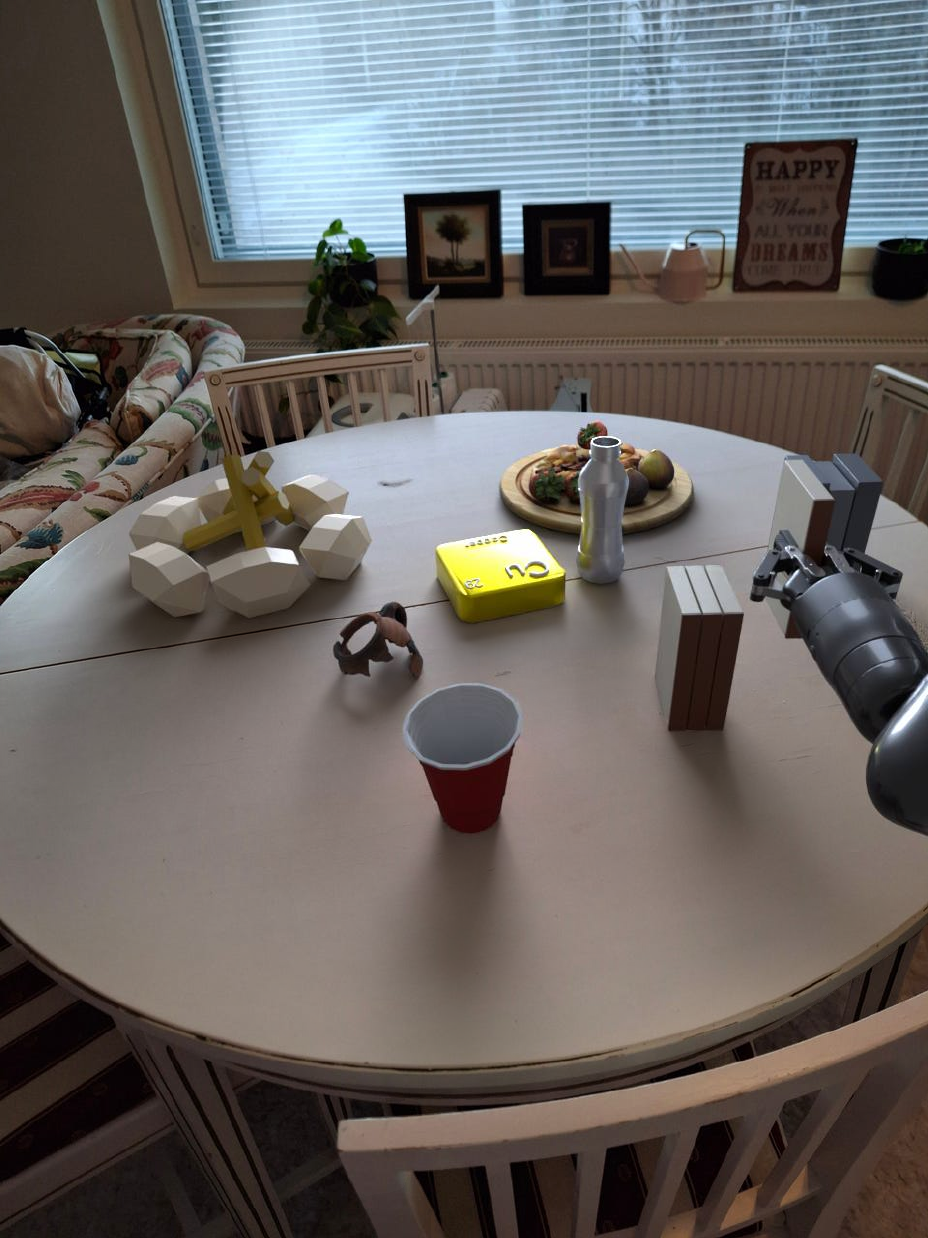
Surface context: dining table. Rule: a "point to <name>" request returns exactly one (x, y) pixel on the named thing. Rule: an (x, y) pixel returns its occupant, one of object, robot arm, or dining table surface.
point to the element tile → (499, 575)
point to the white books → (697, 647)
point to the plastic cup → (465, 750)
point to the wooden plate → (552, 493)
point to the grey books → (847, 498)
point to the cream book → (800, 525)
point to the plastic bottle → (602, 512)
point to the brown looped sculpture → (377, 641)
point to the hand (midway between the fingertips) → (793, 537)
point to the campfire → (260, 571)
